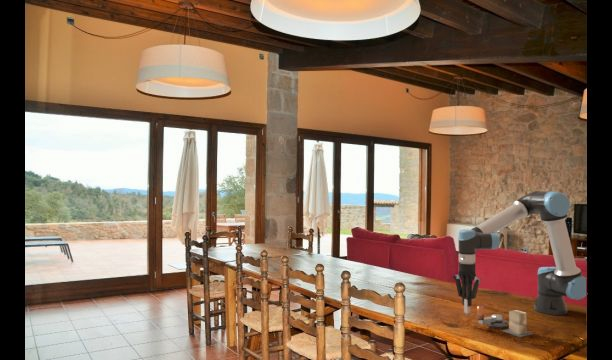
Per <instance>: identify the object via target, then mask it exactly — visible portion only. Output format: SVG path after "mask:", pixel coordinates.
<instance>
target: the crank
mask: <svg viewBox="0 0 612 360" xmlns="http://www.w3.org/2000/svg"><path fill="white" fill-rule="evenodd" d="M476 320H477V322H478V324H480V325H487V324H488V323H493V322H503V320H504V316H503V315H502V314H498V313H493V314H491V316H485V306H483V305H477V306H476Z"/></svg>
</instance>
